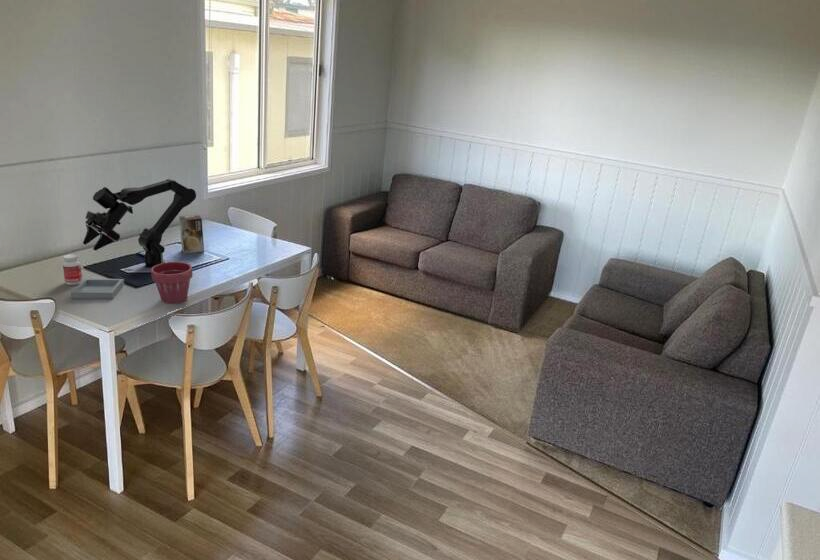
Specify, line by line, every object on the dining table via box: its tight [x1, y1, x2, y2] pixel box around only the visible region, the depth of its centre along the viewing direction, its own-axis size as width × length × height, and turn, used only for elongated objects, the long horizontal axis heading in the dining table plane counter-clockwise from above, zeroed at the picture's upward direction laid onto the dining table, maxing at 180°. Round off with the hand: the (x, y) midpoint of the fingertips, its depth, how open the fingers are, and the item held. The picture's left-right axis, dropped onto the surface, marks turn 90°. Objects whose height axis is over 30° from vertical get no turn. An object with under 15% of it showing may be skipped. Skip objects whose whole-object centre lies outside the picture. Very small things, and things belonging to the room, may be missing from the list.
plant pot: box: [150, 261, 193, 305], centre depth 231 cm, size 14×14×13 cm
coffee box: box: [178, 215, 205, 255], centre depth 284 cm, size 9×6×16 cm
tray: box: [70, 278, 125, 300], centre depth 236 cm, size 14×14×2 cm
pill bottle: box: [62, 253, 84, 286], centre depth 241 cm, size 6×6×11 cm
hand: (88, 246), depth 243 cm, fingers open, 9 cm apart
